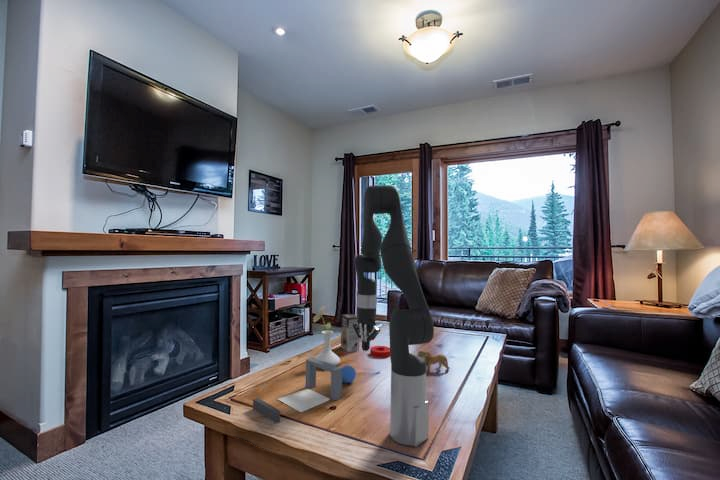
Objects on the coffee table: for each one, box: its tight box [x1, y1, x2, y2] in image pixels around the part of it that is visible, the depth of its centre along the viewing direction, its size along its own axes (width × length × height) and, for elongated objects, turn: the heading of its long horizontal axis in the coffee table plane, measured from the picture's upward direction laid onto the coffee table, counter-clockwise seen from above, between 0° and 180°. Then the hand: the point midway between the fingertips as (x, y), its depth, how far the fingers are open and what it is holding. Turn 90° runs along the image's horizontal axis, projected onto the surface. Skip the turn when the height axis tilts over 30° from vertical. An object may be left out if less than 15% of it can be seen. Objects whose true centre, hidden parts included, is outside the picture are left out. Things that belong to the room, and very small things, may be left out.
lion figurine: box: [416, 349, 450, 374], centre depth 137 cm, size 15×5×9 cm, turn 108°
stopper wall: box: [252, 397, 281, 424], centre depth 99 cm, size 12×2×3 cm, turn 48°
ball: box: [341, 364, 357, 384], centre depth 124 cm, size 6×6×6 cm
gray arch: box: [304, 357, 343, 402], centre depth 115 cm, size 3×15×10 cm, turn 47°
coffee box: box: [340, 313, 360, 353], centre depth 165 cm, size 9×6×16 cm
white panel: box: [277, 387, 331, 413], centre depth 109 cm, size 12×12×1 cm
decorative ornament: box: [369, 345, 390, 359], centre depth 157 cm, size 10×10×3 cm
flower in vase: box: [312, 305, 341, 366], centre depth 141 cm, size 13×11×25 cm
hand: (365, 350), depth 132 cm, fingers closed
